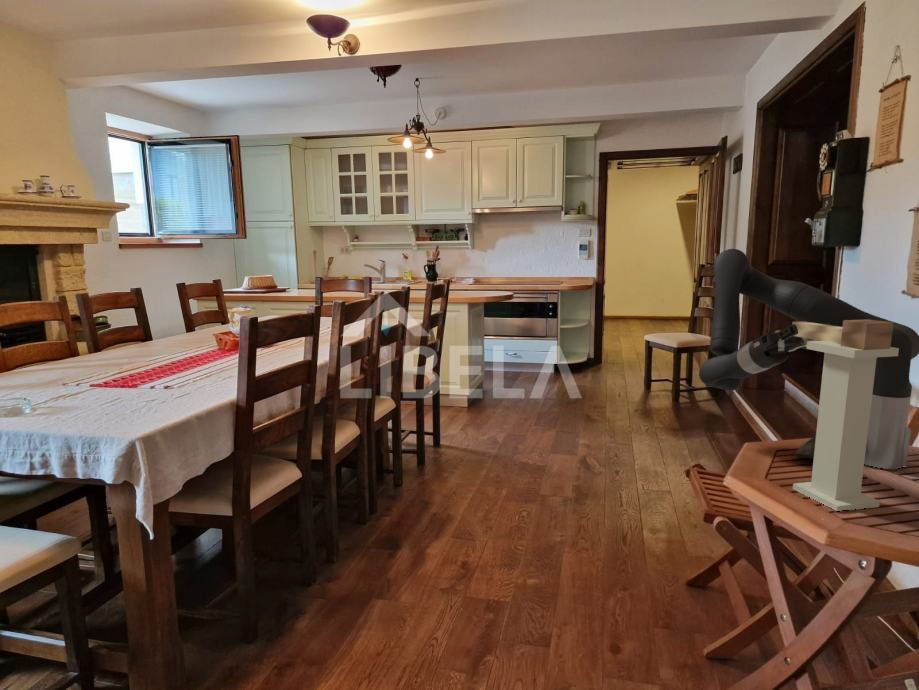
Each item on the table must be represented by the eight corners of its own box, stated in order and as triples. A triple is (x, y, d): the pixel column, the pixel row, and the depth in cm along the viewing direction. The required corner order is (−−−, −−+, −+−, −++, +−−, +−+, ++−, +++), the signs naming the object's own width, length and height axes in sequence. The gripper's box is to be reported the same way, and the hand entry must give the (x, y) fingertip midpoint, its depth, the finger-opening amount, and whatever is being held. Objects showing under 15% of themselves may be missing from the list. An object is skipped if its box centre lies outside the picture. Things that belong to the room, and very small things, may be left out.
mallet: (785, 335, 122) (787, 313, 121) (808, 334, 123) (810, 312, 123) (863, 350, 104) (866, 323, 103) (890, 348, 105) (893, 322, 104)
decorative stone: (820, 469, 131) (822, 452, 130) (790, 461, 136) (792, 445, 135) (845, 452, 141) (847, 436, 141) (816, 445, 146) (818, 430, 146)
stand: (792, 488, 119) (807, 341, 114) (832, 484, 121) (847, 339, 116) (836, 511, 109) (854, 350, 103) (879, 506, 111) (898, 348, 106)
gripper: (731, 340, 133) (778, 312, 118) (782, 338, 136) (835, 310, 121) (740, 370, 131) (789, 345, 116) (792, 367, 134) (847, 342, 119)
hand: (813, 327), depth 119 cm, fingers open, 8 cm apart
